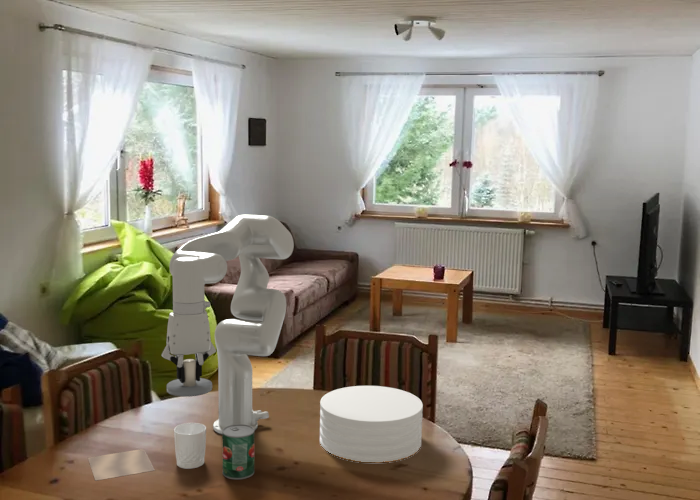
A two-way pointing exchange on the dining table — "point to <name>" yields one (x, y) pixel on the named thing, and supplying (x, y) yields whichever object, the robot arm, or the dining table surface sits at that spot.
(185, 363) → the lid
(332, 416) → the plate stack
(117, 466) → the cork mat
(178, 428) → the white cup
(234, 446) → the canned tomato
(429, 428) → the dining table surface
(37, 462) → the dining table surface
